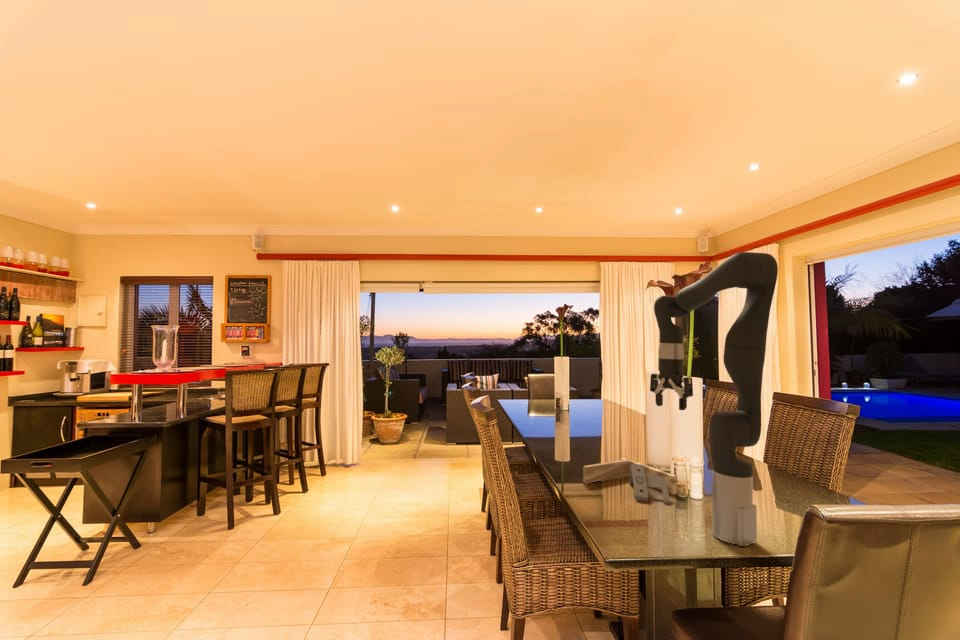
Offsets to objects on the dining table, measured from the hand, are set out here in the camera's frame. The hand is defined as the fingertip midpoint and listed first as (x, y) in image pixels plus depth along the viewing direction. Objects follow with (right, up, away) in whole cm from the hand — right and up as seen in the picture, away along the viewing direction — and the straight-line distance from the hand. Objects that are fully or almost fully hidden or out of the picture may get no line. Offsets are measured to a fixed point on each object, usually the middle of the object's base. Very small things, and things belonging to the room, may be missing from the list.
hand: (670, 407), depth 140 cm
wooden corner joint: (-10, -30, +12) cm, 34 cm away
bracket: (-5, -31, +7) cm, 32 cm away
